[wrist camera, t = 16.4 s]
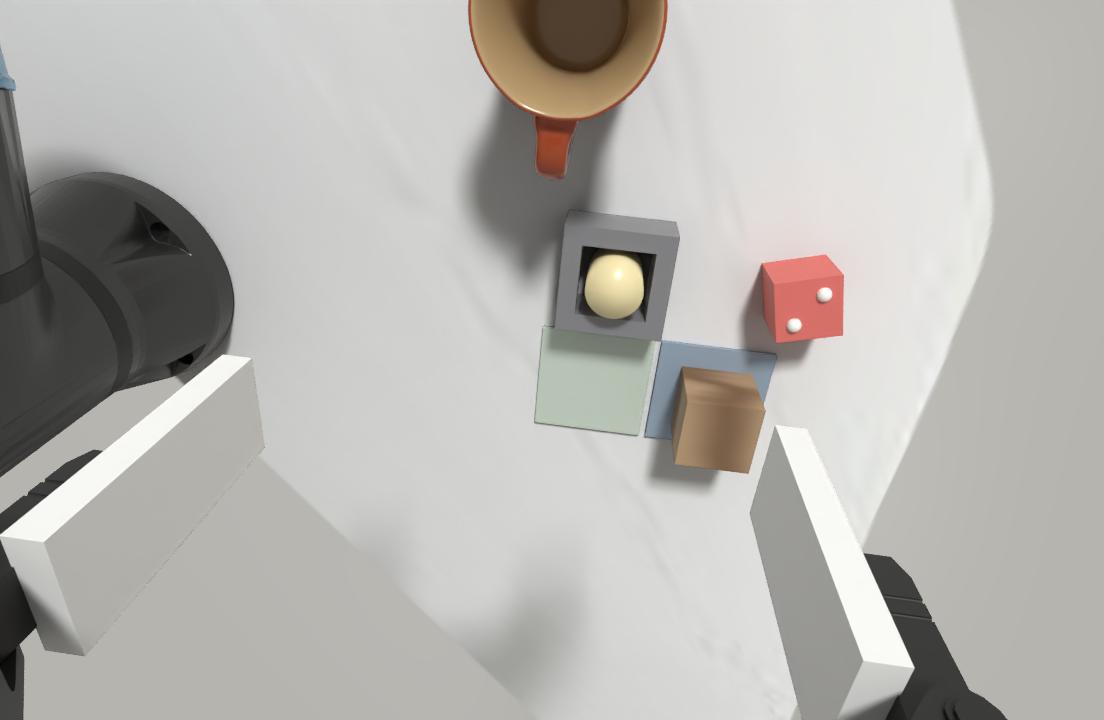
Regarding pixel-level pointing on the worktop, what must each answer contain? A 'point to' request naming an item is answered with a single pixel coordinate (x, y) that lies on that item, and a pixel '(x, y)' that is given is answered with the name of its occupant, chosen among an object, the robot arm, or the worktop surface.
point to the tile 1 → (593, 380)
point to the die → (803, 298)
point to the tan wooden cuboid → (716, 419)
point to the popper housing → (619, 236)
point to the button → (614, 283)
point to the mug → (565, 61)
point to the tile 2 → (704, 358)
